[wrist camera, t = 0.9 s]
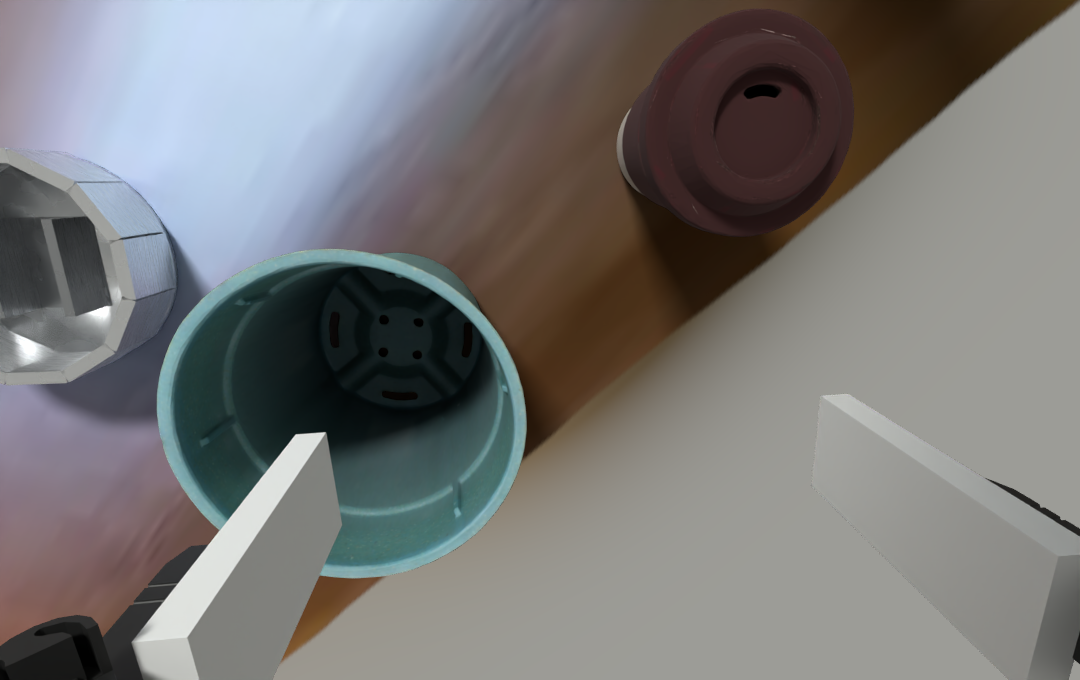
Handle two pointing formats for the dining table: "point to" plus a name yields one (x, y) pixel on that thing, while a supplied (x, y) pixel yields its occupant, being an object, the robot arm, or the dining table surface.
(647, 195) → the coffee cup
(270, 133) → the dining table surface
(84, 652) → the robot arm
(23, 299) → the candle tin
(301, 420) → the flower pot
